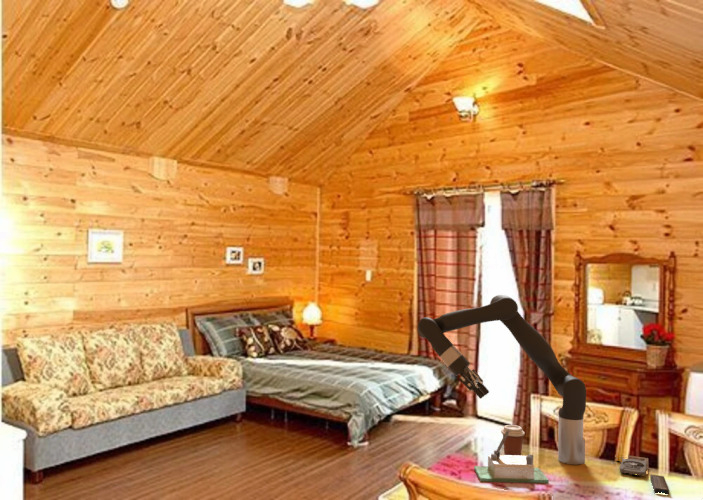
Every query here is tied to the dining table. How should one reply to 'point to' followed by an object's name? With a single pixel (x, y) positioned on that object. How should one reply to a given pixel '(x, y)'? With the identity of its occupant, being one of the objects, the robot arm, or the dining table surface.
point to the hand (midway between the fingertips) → (485, 395)
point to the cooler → (510, 469)
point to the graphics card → (634, 465)
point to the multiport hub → (659, 484)
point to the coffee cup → (513, 440)
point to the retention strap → (502, 442)
